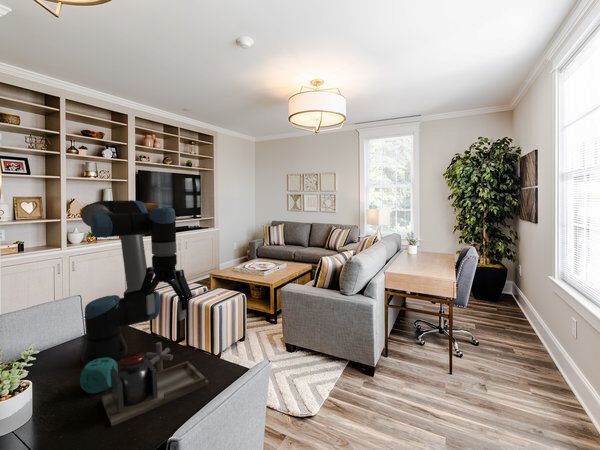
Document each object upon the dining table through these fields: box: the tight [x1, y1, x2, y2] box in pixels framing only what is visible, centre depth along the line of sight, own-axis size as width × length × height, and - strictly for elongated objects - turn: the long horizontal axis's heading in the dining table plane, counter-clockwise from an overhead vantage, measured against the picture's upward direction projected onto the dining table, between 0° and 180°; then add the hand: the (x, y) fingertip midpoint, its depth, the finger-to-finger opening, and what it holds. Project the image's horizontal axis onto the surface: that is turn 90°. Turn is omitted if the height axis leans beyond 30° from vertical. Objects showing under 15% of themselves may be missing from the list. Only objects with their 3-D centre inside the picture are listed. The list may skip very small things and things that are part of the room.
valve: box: [110, 351, 158, 414], centre depth 93 cm, size 10×10×14 cm
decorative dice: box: [79, 358, 119, 394], centre depth 101 cm, size 8×8×8 cm
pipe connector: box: [145, 341, 174, 372], centre depth 110 cm, size 10×10×10 cm
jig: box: [101, 360, 210, 427], centre depth 97 cm, size 15×28×3 cm, turn 132°
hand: (166, 316), depth 102 cm, fingers open, 13 cm apart
